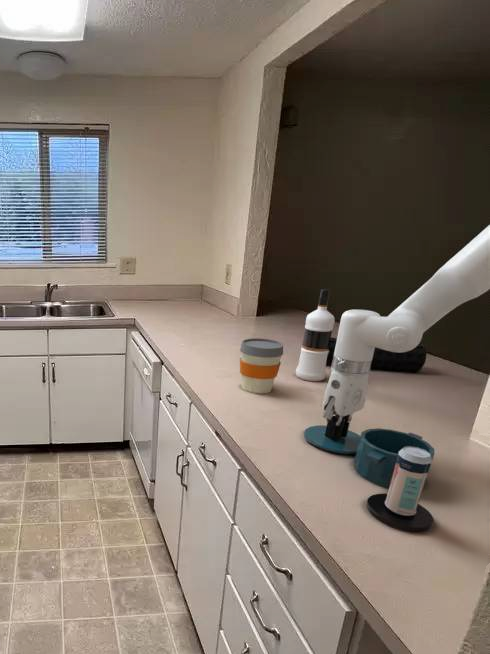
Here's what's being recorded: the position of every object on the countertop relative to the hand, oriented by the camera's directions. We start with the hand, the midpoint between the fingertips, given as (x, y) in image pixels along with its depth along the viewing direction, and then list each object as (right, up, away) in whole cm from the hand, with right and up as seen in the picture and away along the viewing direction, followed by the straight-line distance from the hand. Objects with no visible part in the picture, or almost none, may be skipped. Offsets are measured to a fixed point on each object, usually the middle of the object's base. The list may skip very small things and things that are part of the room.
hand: (335, 436), depth 105 cm
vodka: (+17, +14, +44) cm, 49 cm away
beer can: (-3, -10, -26) cm, 28 cm away
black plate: (-3, -11, -25) cm, 28 cm away
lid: (0, -1, 0) cm, 1 cm away
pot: (+4, -6, -13) cm, 15 cm away
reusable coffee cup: (-6, +11, +35) cm, 37 cm away
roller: (+40, +19, +55) cm, 70 cm away
